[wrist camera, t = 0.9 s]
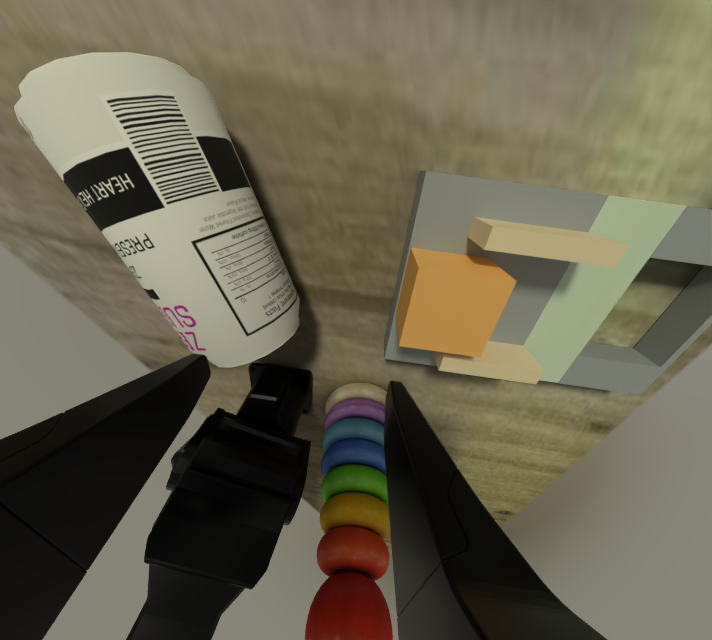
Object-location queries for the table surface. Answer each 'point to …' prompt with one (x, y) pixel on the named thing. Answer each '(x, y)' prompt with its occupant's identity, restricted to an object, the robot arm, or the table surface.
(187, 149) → the supplement can
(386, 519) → the stacking toy
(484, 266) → the block
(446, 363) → the tunnel board
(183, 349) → the table surface
